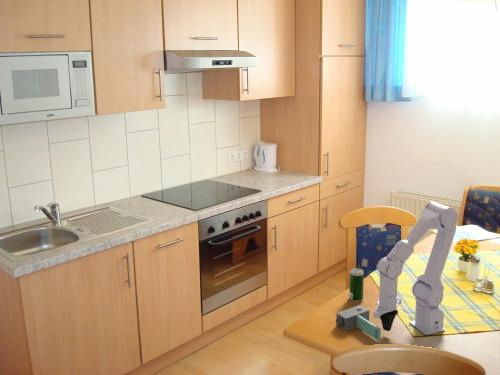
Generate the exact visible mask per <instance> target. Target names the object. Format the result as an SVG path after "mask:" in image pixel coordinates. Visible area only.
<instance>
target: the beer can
mask: <svg viewBox="0 0 500 375" xmlns="http://www.w3.org/2000/svg"><path fill="white" fill-rule="evenodd" d="M364 273H365V271H364V269H362V268H360V267H359V268H357V267H355V268H354V267H353V268H351V269H350V271H349V287H348V288H349V289H348V292H349V293H348V297H349V300H350V301H351V302H354V303H358V302H362V301H363V299H364V280H365V279H364V276H365V274H364Z"/></svg>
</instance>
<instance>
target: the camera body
mask: <svg viewBox="0 0 500 375" xmlns="http://www.w3.org/2000/svg"><path fill="white" fill-rule="evenodd" d="M357 315H360V316H361V317H363V318H365V319H366V320H368V321H369V322H370V309H368V308H366V307H364V306H362V305H360V304H358V305H355V306H353V307H350V308H346V309H344V310H341V311H338V312H336V314H335V316H336V318H335V325H336V327H337V328H339V329H341V330H342V331H344V332H348V331H352V330H354V329H357V328H358V327H357Z"/></svg>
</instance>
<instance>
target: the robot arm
mask: <svg viewBox="0 0 500 375" xmlns="http://www.w3.org/2000/svg"><path fill="white" fill-rule="evenodd" d="M459 216H460V215H458V213H457V210H456V209H455V208H453V207H449V206H447V205H444V204H441V203H438V202H436V201H434V200H433V201H429V202H428V203H426V204H425V207H424V208H423V209H421V214H420V218H419V219H418V221H417V222H416V223H415V225H414V226H413V228H412V229H411V231H410V232H409V233H408V235H407V236H406V237H405V238H404V239H400V240H399V241H398V242H396V243H395V246H394V247H393V248H392V249H391V251H389V253H388V254H387V255H386V256H384V257H382V258H380V260H379V261H378V262H377V265H376V266H375V267H376V271H377V272H378V273H379V274H378V276H379V296H378V297H379V298H378V301H376V303H375V305H377V306H376V308H375V310H374V311H373V315H372V316H373V318H376V319H379V320H380V322H381V325H382V330H383V331H386V332H390V331H391V329H392V327H393V323H394V320H395V319H396V316H397V315H398V313H399V310H397V309H398V307H399V306H400V305H401V304H402V298H401V297H398V281H399V280H398V278H399V276H401V275H402V272H403V268H404V264H405V263H406V262H407V261H408V260H409V258H410V257H411V256H412V255H413V253H414V252H415V247H414V246H415V245H416V244H417V243H418V242H419V241H420V240H421V239H422V238H423V237H425V235H426V234H427V233H428V232H429V230H431V229H433V230H434V229H436V231H437V233H436V235H435V237H434V238H435V239H434V242H433V246H432V249H431V251H430V255H429V257H428V261H427V263H426V267H425V271H424V273H423V274H420V275H418V276H417V279H416V281H415V282H414V284H413V286H412V288H411V293H412V294H413V296H414V300H415V314H414V316H415V317H414V320H411V321H409V324H410V325H411V326H413V327H415V328H416V329H417V330H419V331H420V332H421V333H422V334H424V335H432V334H437V333H440V332H445V331H446V328H444V318H445V316H444V315H445V314H444V311H443V310H442V309H441V308H440V307H439V306H440V305H441V303H442V302H443V299H444V290H445V286H444V284H443V282H442V280H441V278H442V275H443V271H444V269H445V266H446V262H447V260H448V256H449V253H450V250H451V247H452V244H453V241H454V238H455V235H456V231H457V223H458V219H459Z"/></svg>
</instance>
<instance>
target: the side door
mask: <svg viewBox="0 0 500 375" xmlns="http://www.w3.org/2000/svg"><path fill="white" fill-rule="evenodd" d="M357 328H358V329H360V330H361V331H362V332H364V333H366V334H367V335H369V336H370V337H371V338H373V339H374V340H376V341H377V342H380V341H381V336H382V329H381V328H380V327H379V326H377V325H376V324H374V323H372V322H370V320H369V321H368V320H366V319H365V318H363V317H361V316H360V315H357Z"/></svg>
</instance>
